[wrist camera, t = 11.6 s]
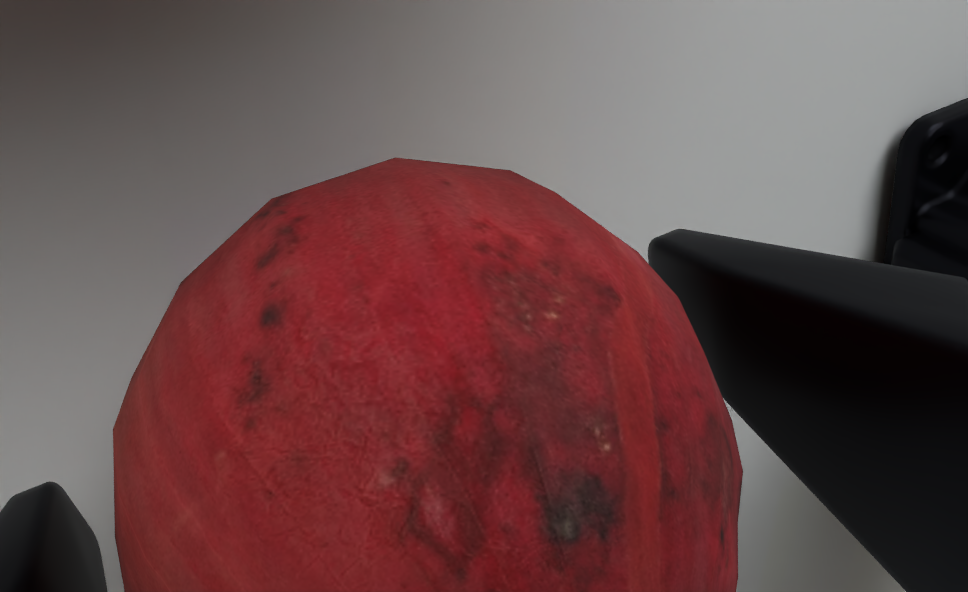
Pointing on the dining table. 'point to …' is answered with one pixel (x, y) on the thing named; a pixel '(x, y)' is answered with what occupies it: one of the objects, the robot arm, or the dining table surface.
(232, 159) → the dining table surface
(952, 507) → the robot arm
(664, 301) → the onion
